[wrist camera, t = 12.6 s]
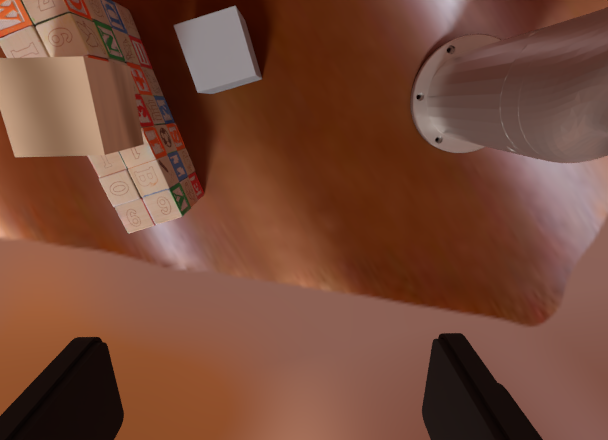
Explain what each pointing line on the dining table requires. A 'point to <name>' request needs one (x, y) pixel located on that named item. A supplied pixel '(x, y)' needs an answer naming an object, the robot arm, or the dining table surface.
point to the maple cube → (68, 106)
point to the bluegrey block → (218, 51)
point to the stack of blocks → (150, 101)
